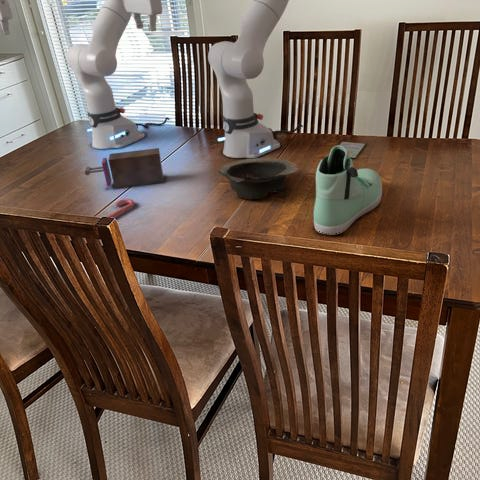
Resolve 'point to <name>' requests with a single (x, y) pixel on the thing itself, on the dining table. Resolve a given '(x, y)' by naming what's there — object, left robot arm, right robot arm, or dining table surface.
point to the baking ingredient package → (352, 148)
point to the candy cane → (118, 212)
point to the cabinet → (136, 168)
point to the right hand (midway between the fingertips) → (146, 29)
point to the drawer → (104, 168)
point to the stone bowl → (257, 176)
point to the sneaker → (343, 192)
